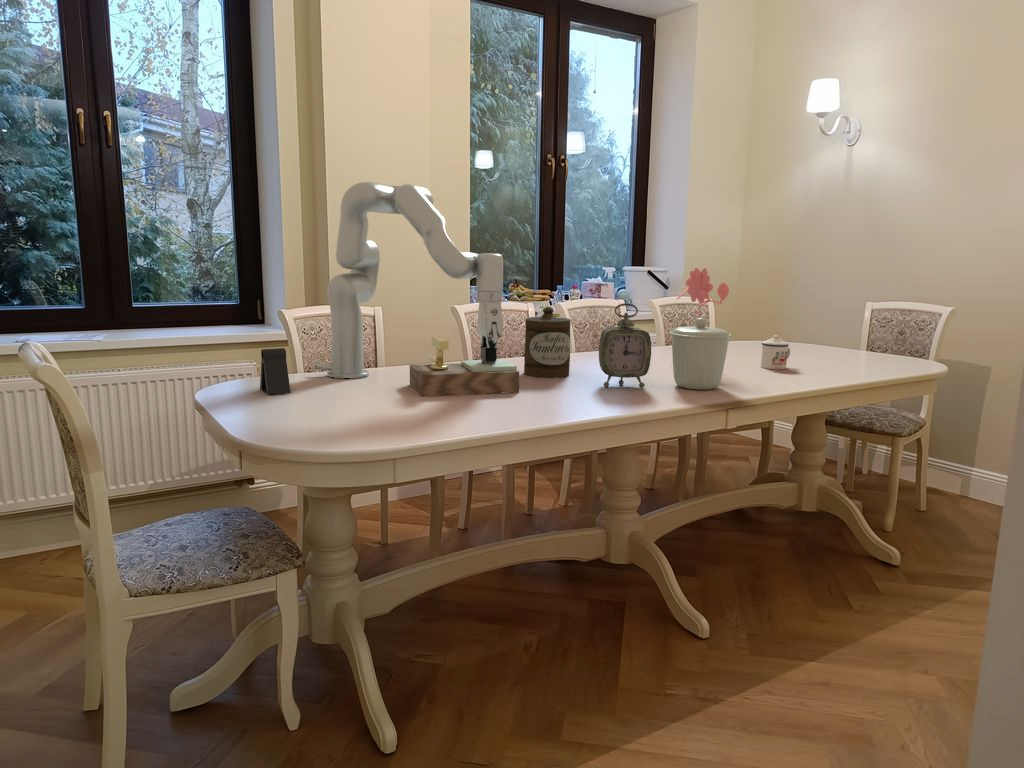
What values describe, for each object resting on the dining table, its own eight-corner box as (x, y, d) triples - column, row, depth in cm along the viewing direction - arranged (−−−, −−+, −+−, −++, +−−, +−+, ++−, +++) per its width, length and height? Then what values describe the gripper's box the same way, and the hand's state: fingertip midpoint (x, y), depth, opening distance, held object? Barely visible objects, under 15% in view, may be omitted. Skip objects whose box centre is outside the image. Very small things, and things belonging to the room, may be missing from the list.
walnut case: (421, 396, 203) (421, 375, 202) (409, 384, 220) (409, 364, 219) (518, 392, 212) (519, 371, 211) (500, 381, 228) (500, 362, 227)
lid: (472, 371, 209) (472, 351, 208) (461, 364, 221) (461, 345, 220) (516, 370, 213) (517, 350, 212) (503, 363, 225) (503, 344, 224)
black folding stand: (259, 390, 208) (258, 347, 205) (281, 388, 211) (280, 346, 209) (268, 395, 200) (266, 351, 198) (290, 393, 203) (289, 350, 201)
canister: (654, 386, 226) (658, 316, 222) (687, 379, 239) (691, 314, 235) (707, 395, 213) (712, 322, 210) (738, 388, 226) (744, 318, 222)
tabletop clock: (600, 388, 220) (604, 304, 216) (596, 383, 229) (599, 301, 225) (649, 389, 221) (653, 305, 216) (642, 383, 230) (647, 302, 225)
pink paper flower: (684, 360, 280) (689, 266, 273) (735, 371, 257) (741, 269, 251) (652, 363, 273) (656, 266, 266) (701, 375, 250) (706, 269, 243)
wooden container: (531, 378, 235) (532, 308, 231) (519, 370, 249) (520, 304, 245) (575, 377, 238) (578, 308, 234) (561, 369, 253) (563, 305, 249)
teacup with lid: (773, 370, 261) (776, 337, 259) (754, 366, 269) (757, 334, 267) (798, 368, 266) (801, 336, 264) (778, 364, 274) (781, 333, 272)
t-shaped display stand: (452, 371, 209) (452, 341, 207) (435, 371, 207) (435, 341, 205) (439, 362, 223) (439, 334, 221) (423, 363, 221) (423, 335, 219)
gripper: (510, 299, 207) (509, 364, 210) (493, 295, 222) (492, 355, 226) (484, 299, 204) (484, 365, 208) (469, 295, 220) (468, 356, 223)
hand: (488, 359), depth 217 cm, fingers closed on lid, 4 cm apart
